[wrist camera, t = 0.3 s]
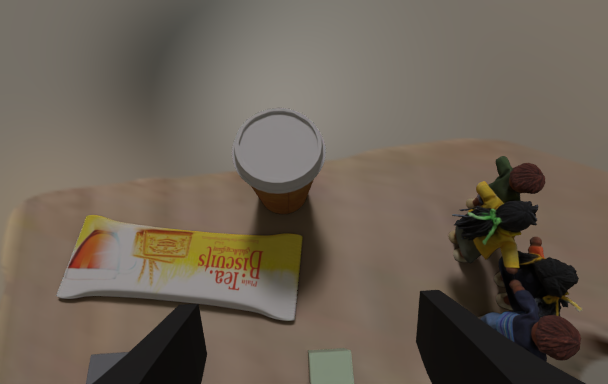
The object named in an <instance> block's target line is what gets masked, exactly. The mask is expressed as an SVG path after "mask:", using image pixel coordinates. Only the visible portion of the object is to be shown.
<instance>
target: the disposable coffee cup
mask: <svg viewBox="0 0 608 384" xmlns="http://www.w3.org/2000/svg"><path fill="white" fill-rule="evenodd" d="M325 154H326V149H325V142H324V139H323V136H322V135H321V133H320V131H319V130H318V129H317V127H316V126H315V124H314V123H313V122H312V121H311V120H310V119H309V118H308V117H307V116H305V115H304V114H302V113H300V112H298V111H295V110H292V109H286V108H272V109H267V110H264V111H261V112H258V113H256V114H254V115H253V116H251V117H250V118H249V119H247V120H246V121H245V122H244V123H243V125H242V126H241V127H240V129H239V131H238V133H237V135H236V138H235V140H234V143H233V147H232V159H233V164H234V166H235V169H236V171H237V172H238V174H239V175H240V177H241V178H242V179H243V180H244V181H245V182H247V183H248V184H249V185H250V186H251V187H252V188H253V190H254V191H255V192H256V194H257V195H258V197H259V198H260V200H261V201H262V203H263V204H264V206H265V207H266V208H267V209H269V210H270V211H272V212H275V213H278V214H288V213H292V212H294V211H296V210H298V209H299V208H300V207H301V206H302V205H303V204H304V202H305V200H306V198H307V195H308V193H309V190H310V188H311V185H312V183H313V180H314V178H315V177H316V176H317V175H318V173H319V172H320V170H321V168H322V166H323V164H324V160H325Z"/></svg>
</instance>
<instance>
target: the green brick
mask: <svg viewBox="0 0 608 384" xmlns="http://www.w3.org/2000/svg"><path fill="white" fill-rule="evenodd" d="M308 362H309V379H310V384H354V377H353V367H352V358H351V350H348V349H345V348H339V349H324V350H309V351H308Z"/></svg>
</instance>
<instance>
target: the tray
mask: <svg viewBox="0 0 608 384" xmlns="http://www.w3.org/2000/svg"><path fill="white" fill-rule="evenodd" d="M128 353H129V352H123V353H107V354H95V355H91V358H90V364H89V370H88V375H87V381H86V384H92V383H94V382H95V381H96V380H97V379H99V378H100V377H101V376H102V375H103V374H104V373H106V372H107V371H108V370H109V369H110V368H111V367H113V366H114V365H115V364H116V363H117V362H118V361H119V360H121V359H122V358H123V357H124V356H125V355H126V354H128Z"/></svg>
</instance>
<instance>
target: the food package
mask: <svg viewBox="0 0 608 384" xmlns="http://www.w3.org/2000/svg"><path fill="white" fill-rule="evenodd" d="M86 217H87V218H85V219H86V220H84V221H85V222H84V224H83V225H84V226H83V227H82V230H81V231H80V232H81V233H80V234H79V238H77V239H78V241H77V242H76V245H75V249H74V250H73V251H74V252H73V253H72V257H71V258H70V259H71V260H70V261H69V265H67V267H68V268H67V269H66V273H65V274H64V277H63V278H62V279H63V281H62V282H61V285H60V288H59V290H58V292H57V295H56V296H58V297H59V298H66V299H73V298H79V297H85V296H113V297H132V298H146V299H157V300H167V301H177V302H187V303H197V304H206V305H213V306H220V307H227V308H234V309H240V310H246V311H251V312H257V313H260V314H263V315H266V316H268V317H271V318H274V319H278V320H285V321H291V320H295V319H294V317H295V316H294V315H295V312H296V311H295V310H296V309H295V307H296V304H295V303H296V302H297V301H296V298H297V296H296V294H297V293H298V292H297V291H296V290H297V289H298V288H297V286H298V283H297V282H298V281H299V279H298V277H299V275H298V273H299V269H300V267H299V265H300V262H299V261H300V260H301V259H300V257H301V255H300V253H301V249H302V247H301V246H302V239H303V238H302V237H303V236H300V235H298V234H287V233H285V234H277V235H269V236H262V235H236V234H220V233H208V232H198V231H187V230H176V229H166V228H158V227H150V226H143V225H136V224H129V223H123V222H117V221H114V220H110V219H108V218H105V217H103V216H97V215H89V216H86Z"/></svg>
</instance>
